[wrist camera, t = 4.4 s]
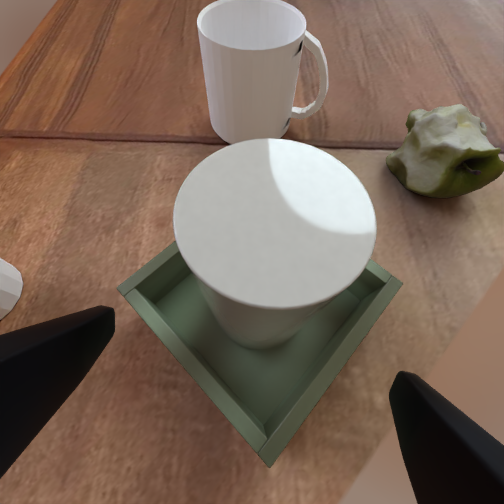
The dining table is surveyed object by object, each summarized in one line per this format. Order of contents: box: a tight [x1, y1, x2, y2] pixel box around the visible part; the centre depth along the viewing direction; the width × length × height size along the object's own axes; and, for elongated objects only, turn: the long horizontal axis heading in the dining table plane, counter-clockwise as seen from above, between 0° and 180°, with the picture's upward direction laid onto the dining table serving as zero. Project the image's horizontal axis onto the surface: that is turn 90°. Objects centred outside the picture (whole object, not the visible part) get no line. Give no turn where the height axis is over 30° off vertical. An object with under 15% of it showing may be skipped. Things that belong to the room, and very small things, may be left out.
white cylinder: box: [173, 138, 377, 350], centre depth 14 cm, size 7×7×12 cm
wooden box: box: [117, 241, 403, 468], centre depth 18 cm, size 13×13×5 cm
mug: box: [197, 0, 328, 144], centre depth 25 cm, size 12×9×9 cm
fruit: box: [386, 104, 504, 198], centre depth 24 cm, size 9×9×8 cm
